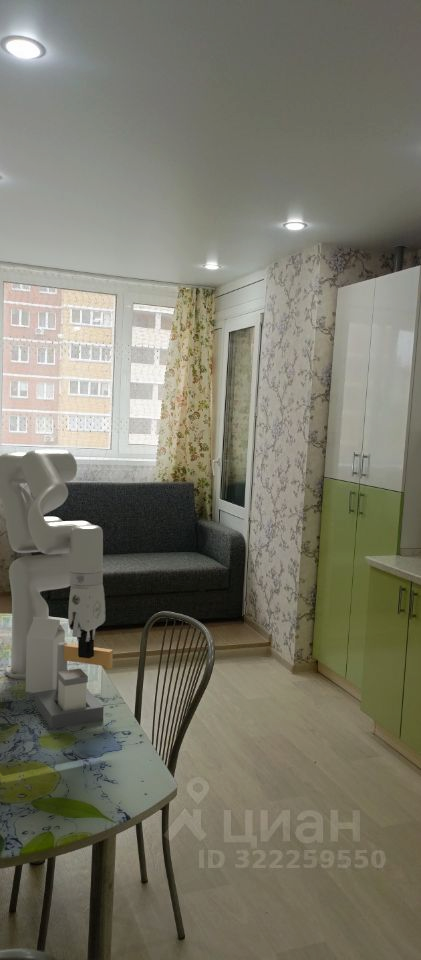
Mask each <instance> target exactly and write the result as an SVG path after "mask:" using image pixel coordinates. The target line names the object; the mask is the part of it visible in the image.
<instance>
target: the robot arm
mask: <svg viewBox="0 0 421 960" xmlns="http://www.w3.org/2000/svg"><path fill="white" fill-rule="evenodd" d="M77 466H78V465H77V461H76V459H75V457H74V455H73V454H72V453H71V452H70V451H68V450H65V449H35V450H31V451H28V452H8V453H4V454H0V502H1V504H2V508H3V513H4V520H5V525H6V532H7V537H8V541H9V542H8V543H9V545H10V547H11V549H12V551H14V552H15V553H18V554H19V553H21V554H23V553H24V554H25V553H26V554H27V553H38V552H39V553H42V554H38V555H37V554H36V555H29V556H27V555H26V556H23V557H22V556H21V557H19V558H17V559H15V560H13V561H12V563H11V564H10V565H9V569H8V576H9V577H8V579H9V584H10V591H11V603H12V604H11V605H12V607H11V609H12V610H11V657H10V658H11V661H10V663H9V664H8V665H6V666H5V668H4V669H5V672H4V673H5V675H6V676H8V678H9V677H10V678H12V679H15V680H17V679H18V680H26V650H27V635H28V632H29V630H30V627H31V625H32V622H33V617H39V618H49V617H50V616H49V615H50V614H49V613H50V611H49V605H48V603H47V601H46V600H45V599H44V597H43V596H42V595H41V592H45V591H52V590H59V589H65V588H69V587H70V591H69V597H68V598H69V600H68V618H67V619H68V628H69V630H71V631H72V637H74V638H76V640H77V645H78V657H81V658H91V657H93V656H94V647H95V645H94V643H95V641H94V640H95V638H96V637H95V636H96V629H97V628H98V627H100V626H102V625H103V624H104V623H105V621H106V599H105V597H106V596H105V588H104V584H103V582H104V581H103V580H104V579H103V577H104V575H103V574H104V572H103V571H104V569H103V567H104V564H103V563H104V561H103V560H104V557H103V556H104V555H103V554H104V542H103V541H104V531H103V529H102V527H101V526H99V525H97V524H96V525H95V524H92V523H91V522H89V521H86V520H65V521H63V520H62V519H61V518H60V517H57V516H54V515H53V516H49V515H48V516H44V515H46V514H48V513H50V512H52V511H54V510H56V509H57V508H59V507H61V506H62V505H64V503H65V502H66V500H67V498H68V496H69V489H68V487H67V485H66V483H67V482H71V481H72V480H74V478H75V477H76V476H77V471H78V467H77ZM21 484H27V486H28V488H29V491H30V492H31V494H30V493H29V492H28V491H27V490H26V489H25V488H24V487H23V486H21ZM49 619H50V618H49Z"/></svg>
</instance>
